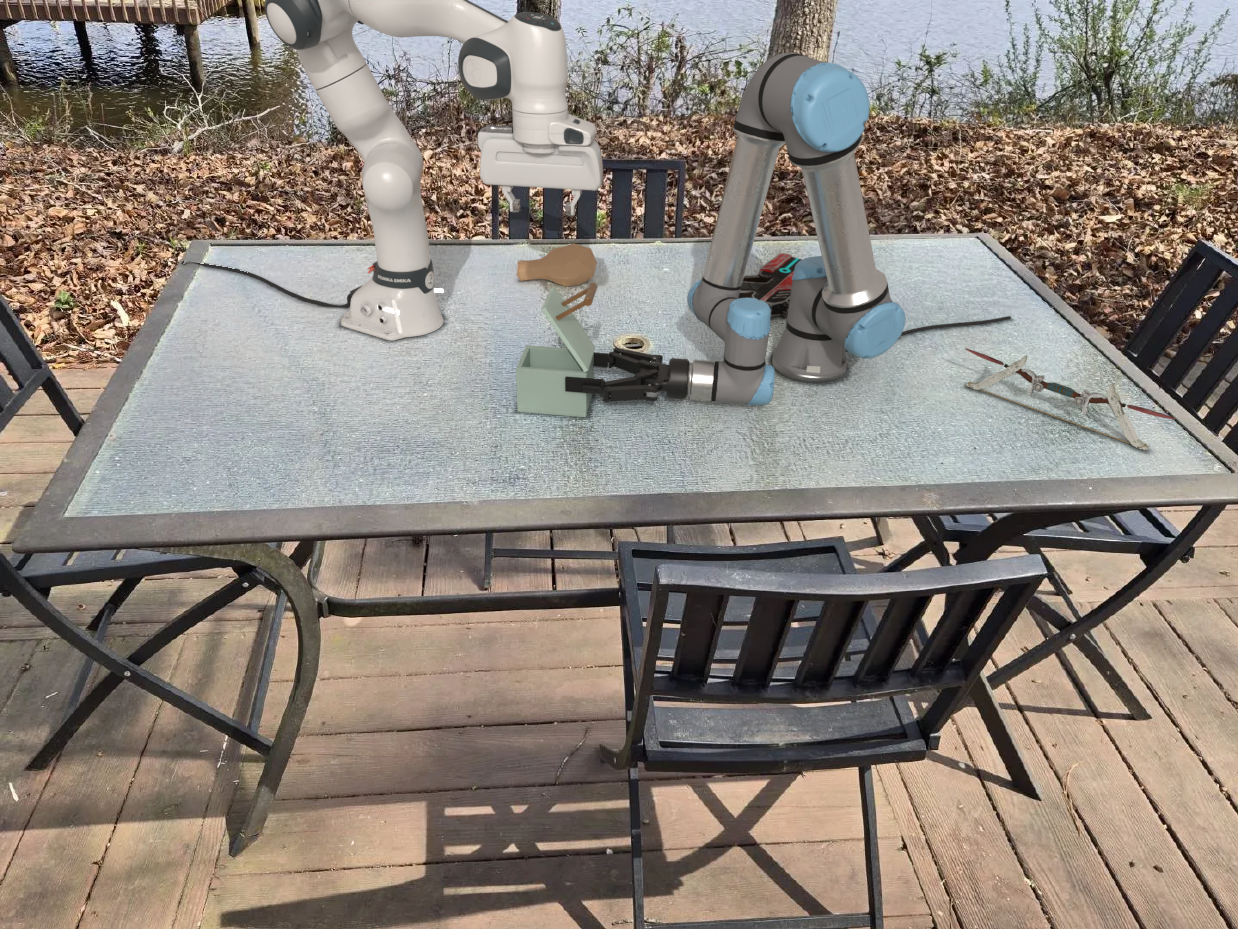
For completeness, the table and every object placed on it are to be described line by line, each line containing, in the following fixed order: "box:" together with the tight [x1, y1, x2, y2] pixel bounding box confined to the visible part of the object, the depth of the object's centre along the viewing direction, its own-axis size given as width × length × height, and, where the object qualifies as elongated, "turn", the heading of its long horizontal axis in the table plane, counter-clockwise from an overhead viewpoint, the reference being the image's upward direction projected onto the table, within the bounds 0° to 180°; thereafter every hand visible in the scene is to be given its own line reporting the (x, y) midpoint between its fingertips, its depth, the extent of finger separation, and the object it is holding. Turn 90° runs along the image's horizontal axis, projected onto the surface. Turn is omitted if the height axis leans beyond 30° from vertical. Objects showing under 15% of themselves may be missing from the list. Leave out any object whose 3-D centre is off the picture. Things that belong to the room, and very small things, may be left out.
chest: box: [515, 344, 595, 418], centre depth 166 cm, size 13×10×9 cm
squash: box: [516, 242, 598, 287], centre depth 216 cm, size 11×20×9 cm, turn 90°
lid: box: [541, 282, 598, 372], centre depth 158 cm, size 14×10×8 cm
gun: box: [738, 252, 802, 318], centre depth 215 cm, size 4×31×19 cm
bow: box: [964, 347, 1177, 451], centre depth 165 cm, size 39×2×10 cm, turn 47°
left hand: (542, 212), depth 148 cm, fingers open, 8 cm apart
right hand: (570, 370), depth 164 cm, fingers closed on chest, 10 cm apart
